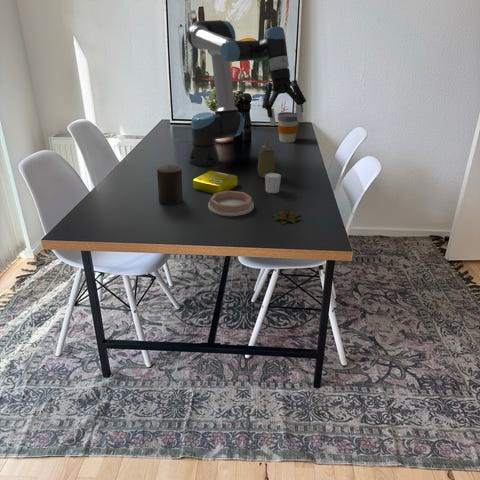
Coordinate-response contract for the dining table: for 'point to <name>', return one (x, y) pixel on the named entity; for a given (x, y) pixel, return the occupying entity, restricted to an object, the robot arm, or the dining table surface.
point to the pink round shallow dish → (231, 203)
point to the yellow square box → (215, 182)
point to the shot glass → (272, 182)
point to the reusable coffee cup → (287, 126)
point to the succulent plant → (287, 214)
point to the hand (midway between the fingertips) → (287, 123)
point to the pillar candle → (170, 184)
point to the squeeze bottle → (266, 160)
